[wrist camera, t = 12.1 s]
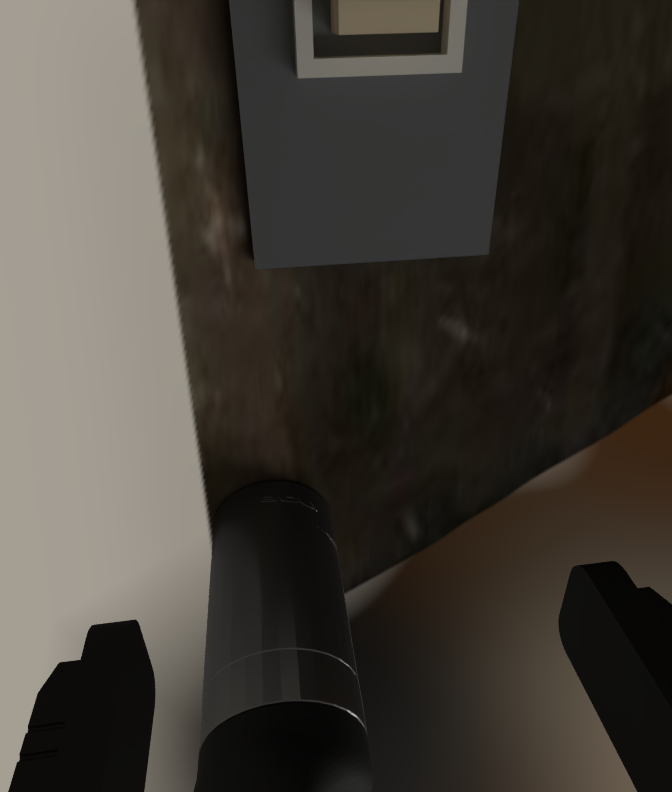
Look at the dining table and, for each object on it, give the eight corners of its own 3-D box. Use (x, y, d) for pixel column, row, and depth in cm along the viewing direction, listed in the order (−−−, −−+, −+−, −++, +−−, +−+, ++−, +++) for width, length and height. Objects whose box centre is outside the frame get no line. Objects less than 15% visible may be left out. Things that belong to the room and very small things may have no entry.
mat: (484, 250, 37) (488, 254, 37) (255, 264, 36) (255, 269, 35) (543, -262, 25) (551, -269, 25) (203, -268, 24) (201, -276, 23)
